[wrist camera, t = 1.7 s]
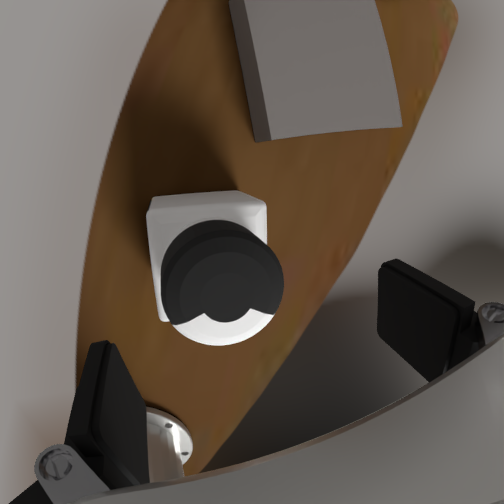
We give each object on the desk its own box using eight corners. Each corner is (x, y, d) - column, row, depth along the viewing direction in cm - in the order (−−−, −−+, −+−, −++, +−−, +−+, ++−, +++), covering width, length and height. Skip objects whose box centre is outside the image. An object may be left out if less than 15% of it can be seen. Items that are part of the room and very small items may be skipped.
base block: (375, 128, 27) (402, 126, 23) (255, 142, 24) (271, 140, 21) (349, 6, 23) (371, -8, 19) (228, 2, 20) (239, -20, 16)
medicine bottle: (150, 196, 24) (138, 228, 12) (240, 189, 25) (301, 215, 14) (159, 282, 26) (161, 370, 15) (242, 273, 27) (297, 349, 16)
